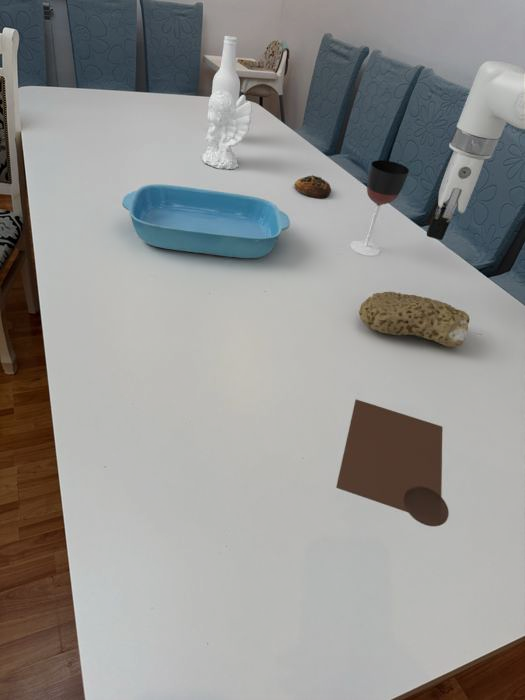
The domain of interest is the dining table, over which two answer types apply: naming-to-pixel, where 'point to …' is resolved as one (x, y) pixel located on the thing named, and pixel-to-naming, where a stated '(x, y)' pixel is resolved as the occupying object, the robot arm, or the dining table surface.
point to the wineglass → (381, 195)
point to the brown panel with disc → (395, 462)
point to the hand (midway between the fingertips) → (434, 236)
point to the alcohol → (227, 71)
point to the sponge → (415, 317)
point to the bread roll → (313, 186)
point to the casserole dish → (205, 220)
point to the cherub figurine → (226, 128)
